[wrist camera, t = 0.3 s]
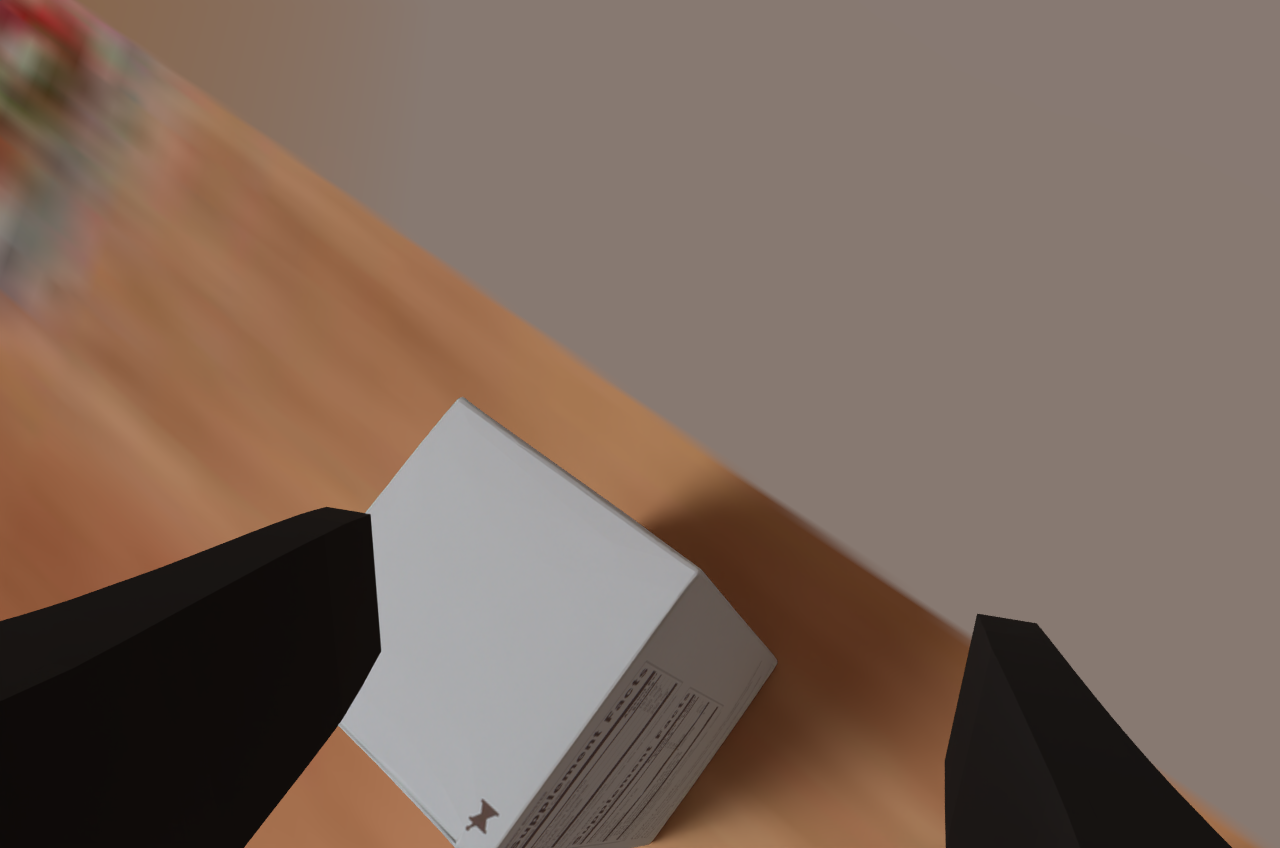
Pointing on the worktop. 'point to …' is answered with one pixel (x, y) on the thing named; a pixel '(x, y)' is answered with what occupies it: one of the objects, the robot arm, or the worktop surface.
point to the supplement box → (540, 651)
